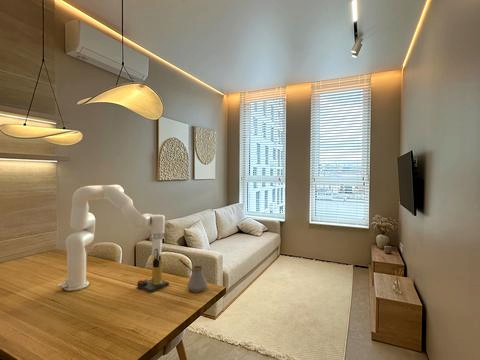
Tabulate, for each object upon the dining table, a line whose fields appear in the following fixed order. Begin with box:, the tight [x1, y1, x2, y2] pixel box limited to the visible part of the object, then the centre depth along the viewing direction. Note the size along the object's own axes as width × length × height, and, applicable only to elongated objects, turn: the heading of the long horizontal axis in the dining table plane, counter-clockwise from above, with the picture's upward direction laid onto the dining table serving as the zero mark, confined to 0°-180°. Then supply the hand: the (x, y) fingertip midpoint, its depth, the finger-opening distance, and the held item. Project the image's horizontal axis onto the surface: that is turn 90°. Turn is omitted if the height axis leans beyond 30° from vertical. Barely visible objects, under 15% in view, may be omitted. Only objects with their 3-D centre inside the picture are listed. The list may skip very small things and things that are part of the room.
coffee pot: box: [177, 258, 208, 293], centre depth 155 cm, size 21×12×15 cm, turn 57°
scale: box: [137, 278, 170, 294], centre depth 155 cm, size 14×13×4 cm
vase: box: [151, 257, 163, 285], centre depth 156 cm, size 6×6×14 cm
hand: (156, 264), depth 155 cm, fingers open, 9 cm apart
